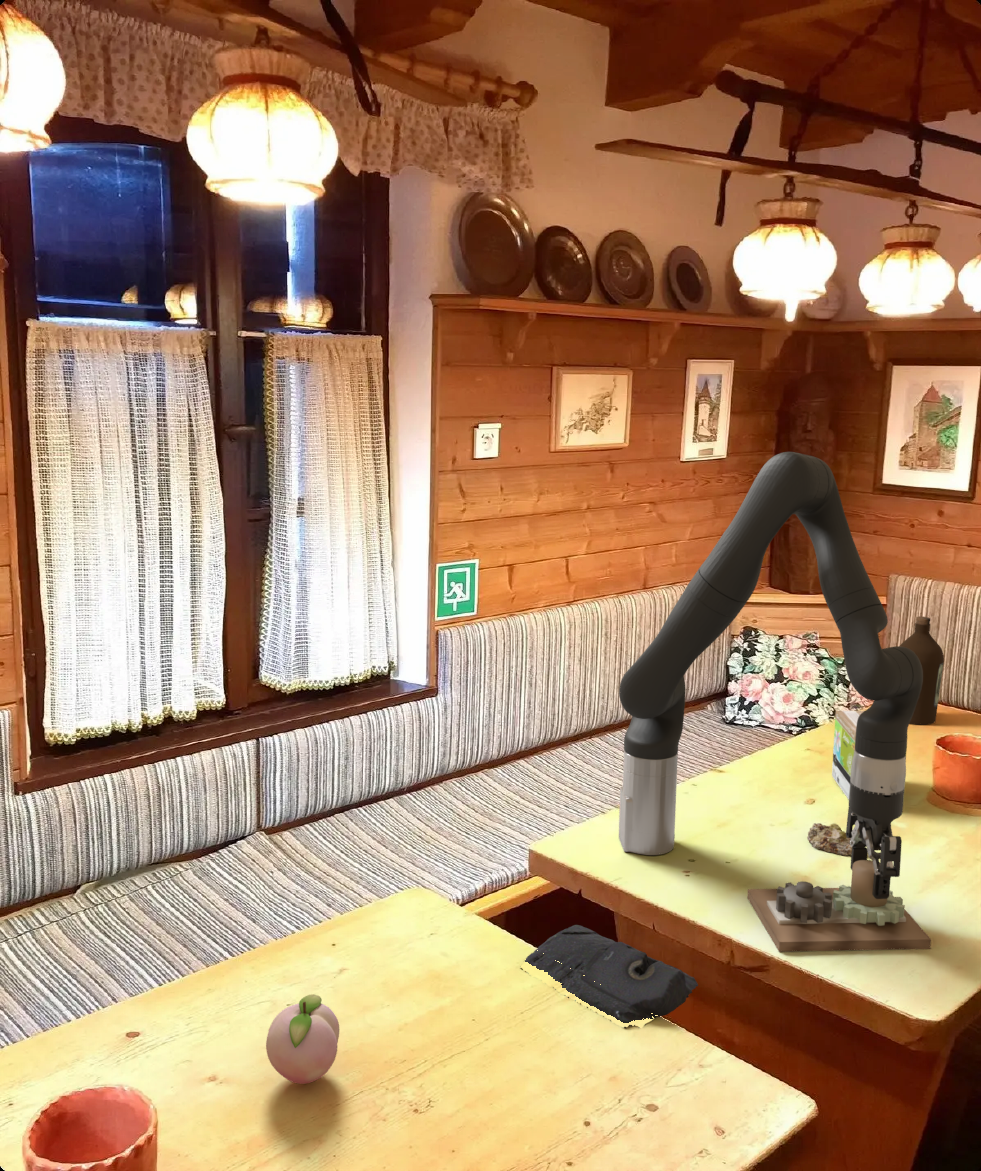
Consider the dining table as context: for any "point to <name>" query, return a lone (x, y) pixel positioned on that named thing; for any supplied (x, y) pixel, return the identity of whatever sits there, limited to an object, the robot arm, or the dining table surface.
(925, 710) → the olive oil
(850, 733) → the tea box
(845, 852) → the mineral rock
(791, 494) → the robot arm
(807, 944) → the carrier board
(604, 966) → the dark slate chunk
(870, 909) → the planet gear
